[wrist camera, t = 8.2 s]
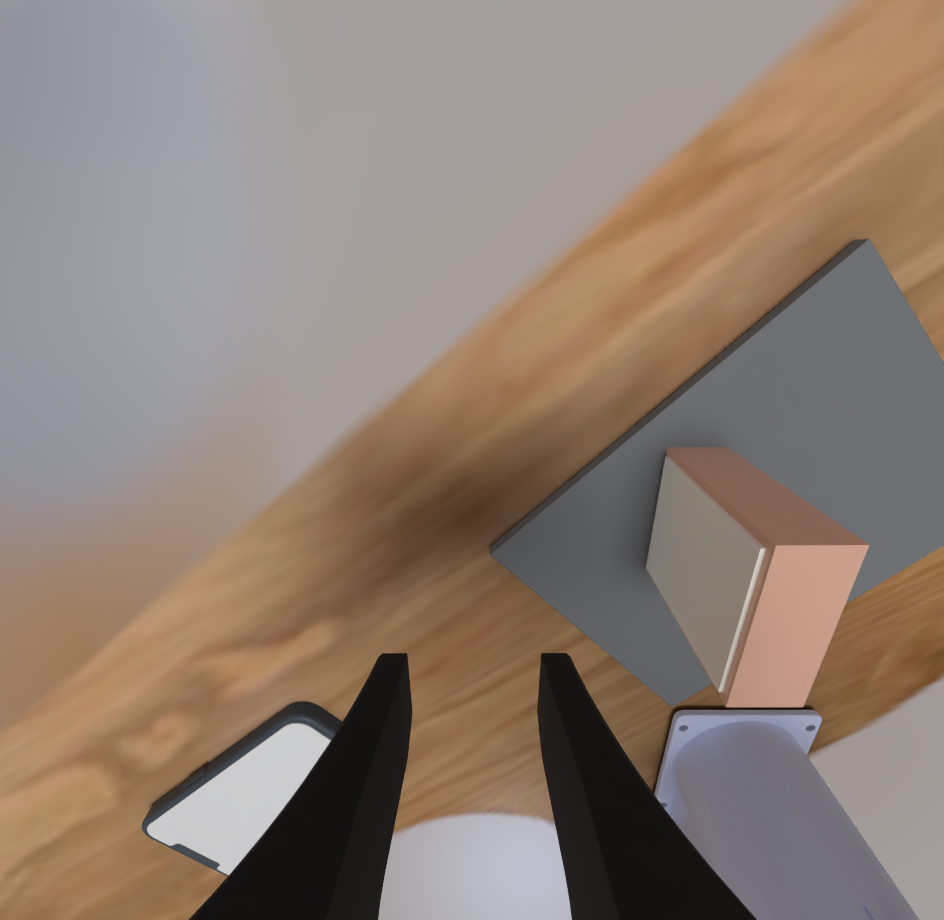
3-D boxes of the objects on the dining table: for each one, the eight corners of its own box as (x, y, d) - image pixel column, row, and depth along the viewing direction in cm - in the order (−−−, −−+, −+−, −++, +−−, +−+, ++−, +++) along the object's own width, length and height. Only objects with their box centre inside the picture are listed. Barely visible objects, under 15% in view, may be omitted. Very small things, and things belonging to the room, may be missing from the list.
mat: (855, 240, 15) (869, 238, 15) (1008, 490, 19) (1024, 497, 19) (489, 547, 20) (490, 554, 20) (667, 697, 24) (672, 707, 24)
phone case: (305, 683, 25) (146, 802, 29) (295, 709, 24) (129, 830, 27) (414, 759, 28) (255, 859, 32) (411, 787, 26) (244, 887, 30)
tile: (698, 568, 20) (803, 707, 14) (642, 568, 20) (721, 707, 14) (726, 446, 18) (869, 545, 11) (663, 447, 18) (770, 545, 11)
